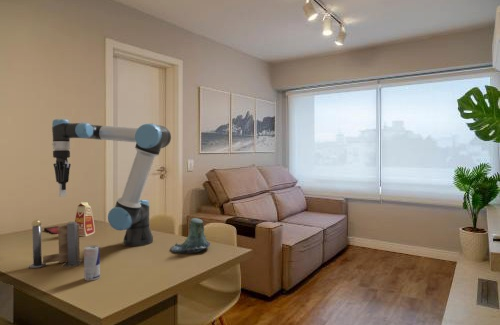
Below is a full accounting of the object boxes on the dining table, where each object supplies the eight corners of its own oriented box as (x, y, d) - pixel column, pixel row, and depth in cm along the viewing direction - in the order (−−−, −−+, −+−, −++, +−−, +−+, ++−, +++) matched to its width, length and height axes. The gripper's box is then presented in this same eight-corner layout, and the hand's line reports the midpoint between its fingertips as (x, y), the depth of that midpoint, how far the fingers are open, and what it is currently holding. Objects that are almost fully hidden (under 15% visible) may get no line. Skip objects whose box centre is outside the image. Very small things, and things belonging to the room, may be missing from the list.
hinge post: (49, 263, 145) (47, 218, 144) (39, 268, 139) (38, 221, 138) (35, 263, 145) (34, 218, 144) (25, 268, 139) (24, 221, 138)
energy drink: (102, 275, 130) (101, 245, 130) (96, 280, 125) (95, 249, 124) (88, 275, 130) (87, 245, 129) (81, 281, 124) (81, 249, 124)
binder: (43, 227, 208) (78, 222, 224) (43, 231, 208) (78, 225, 224) (53, 232, 198) (89, 226, 214) (53, 236, 198) (89, 230, 214)
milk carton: (86, 236, 193) (85, 202, 192) (72, 235, 195) (71, 201, 194) (96, 232, 202) (95, 199, 201) (82, 232, 204) (82, 199, 203)
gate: (43, 265, 142) (42, 228, 141) (43, 263, 144) (42, 227, 143) (79, 259, 149) (78, 224, 148) (79, 258, 151) (78, 223, 150)
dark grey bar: (62, 266, 141) (61, 224, 140) (68, 262, 147) (67, 221, 146) (78, 265, 142) (77, 223, 141) (82, 261, 148) (81, 221, 147)
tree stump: (188, 242, 179) (195, 211, 177) (216, 257, 168) (223, 224, 166) (162, 249, 164) (169, 214, 161) (190, 266, 153) (198, 229, 150)
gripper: (47, 150, 169) (48, 196, 170) (60, 149, 162) (61, 197, 162) (62, 150, 175) (63, 194, 176) (75, 149, 168) (76, 196, 169)
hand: (62, 196), depth 169 cm, fingers closed
